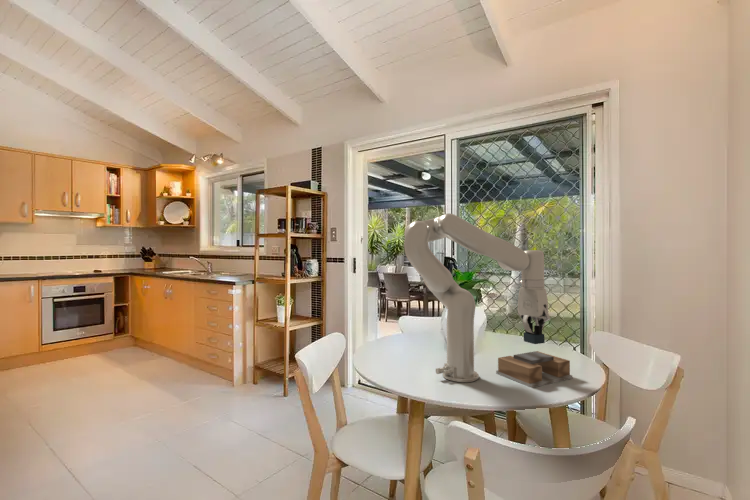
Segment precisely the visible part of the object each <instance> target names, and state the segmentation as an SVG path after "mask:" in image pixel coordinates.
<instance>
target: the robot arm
mask: <svg viewBox="0 0 750 500" xmlns="http://www.w3.org/2000/svg"><path fill="white" fill-rule="evenodd" d="M445 238H446V239H448V240H450V241H451V242H453V243H455V244H457V245H460V246H461V247H463V248H465V249H467V250H468V251H470V252H472V253H473V254H474V253H475V254H477V255H480V256H485V257H489V258H490V259H492V260H495V261H496V262H497V264H498V265H499V267H500V268H501V269H503V270H506V271H511V272H521V280H520V282H519V283H520V284H521V286H520V287H519V291H518V297H517V315H518V316H520V318H521V319H522V320H523V316H524V315H529V317H528V319H527V322H528V324H529V327H530V329H531V330H532V332H534V335H542V334H543V329H542V325H544V326H545V324H544V323H546V322H548V321H550V320H551V316H550V314H549V302H548V294H547V289H546V288H545V255H544V251H542V250H539V249H537V250H536V249H529V250H527V249H526V250H524V249H522V248H520V247H518V246H516V245H515V244H513V243H512V242H509V241H507V240H505V239H502V238H501V237H498V236H496V235H494V234H491V233H489V232H487V231H485V230H483V229H481V228H480V227H477V226H476V225H474V224H472V223H471V222H469V221H467V220H465V219H463V218H462V217H459V216H457V215H456V214H453V213H445V214H442V215H440V216H437V217H434V218H430V219H425V220H414V221H413V222H410V224H408V225H407V226H406V228H405V230H404V242H403V243H404V244H403V245H404V254H405V256H406V258H407V260H408V262H409V263H410V264H411V266H412V267H413V268H414V269H415V270H416V271H417V273H418V274H419V276H421V278H422V281H423V283H424V284H425V286H426V287H427V289H428V290H429V291H430V292H431V294H433V296H434V297H436V299H438V301H439V302H440V303H441V304H442V305H443V306H444V308H446V309H447V314H446V363H444V365H443V366H442V367H437V368H435V373H436V374H437V375H441V374H442V377H443V378H444V379H446V380H449V381H451V382H457V383H471V382H476V381H477V380H479V377H480V376H479V373H478V372H477V371H475V328H474V327H475V314H476V313H475V312H476V300H475V298H474V295H473V294H472V293H471V291H469V290H467V289H465V288H463V287H461V286H460V285H459V284H458V283H457V282H456V280H454V279H453V278H454V277H453V274H452V273H451V271H450V270H449V269H448V268H447V267H446V266H445V265H444V264H443V263H442V262H441V261H440V260H439V259H438V257H436V255H435V253H433V252H432V250H431V249H430V246H429V243H431V242H434V241H438V240H442V239H445ZM543 316H544V318H543ZM532 317H535V321H534V322H535V325H534V324H533V322H532V320H533V318H532ZM539 319H540V320H539ZM524 333H529V332H527V331H526V330H525V329H524ZM529 334H531V333H529Z"/></svg>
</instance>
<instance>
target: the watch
mask: <svg viewBox="0 0 750 500" xmlns="http://www.w3.org/2000/svg"><path fill="white" fill-rule="evenodd" d="M528 317H529V315H524V316H523V319H522V326H523V328H524V331H525V330H526V331H527V332H529V333H531V334H529V333H525V332H522V333H523V342H526V343H527V344H528V343H530V344H533V345H538V344H539V345H541V344H546V339H545V333H542V335H534V331H533V332H532V330H531V329H530V327H529V324H528V322H527V319H528ZM543 318H544V316H543ZM532 320H533V321H534V322H535V317H532ZM539 320H540V319H539ZM545 323H546V322H545ZM545 323H544V325H542V330H543V329H544V328H545Z"/></svg>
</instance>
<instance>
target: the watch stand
mask: <svg viewBox="0 0 750 500" xmlns="http://www.w3.org/2000/svg"><path fill="white" fill-rule="evenodd" d="M570 362H571V360H569V359H566V358H562V357H560V356H559V357H558V356H556V355H552V354H549V353H545V352H542V351H538V350H537V351H535V350H534V351H529V352H524V353H516V354H513V355H507V356H501V357H498V358H497V369H498V370H495V373H496V374H497V375H500V376H502V377H504V378H507V379H509V380H512V381H513V382H516V383H518V384H519V383H520V384H521V385H524V386H525V387H526V386H527V387H528V388H531V389H532V388H536V387H537V388H538V387H540V386H541V387H542V386H547V385H549V384H553V383H554V384H555V383H558V382H559V383H560V382H562V381H566V380H572V379H573V375H572V374H571V365H570V364H571V363H570Z"/></svg>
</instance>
